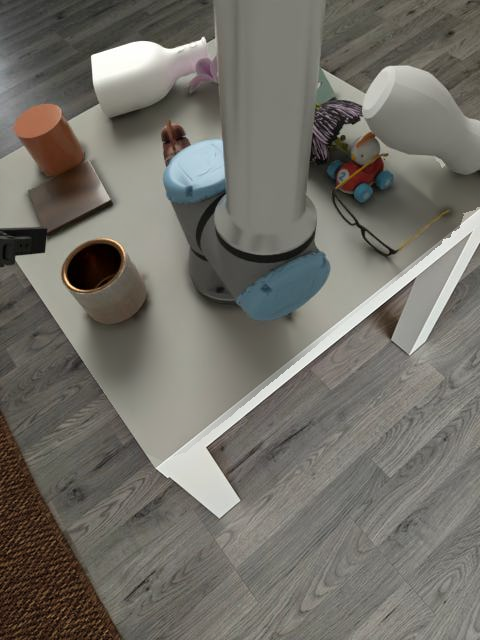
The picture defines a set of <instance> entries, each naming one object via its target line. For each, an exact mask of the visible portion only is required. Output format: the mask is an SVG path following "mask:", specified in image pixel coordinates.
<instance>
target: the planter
mask: <svg viewBox="0 0 480 640" xmlns="http://www.w3.org/2000/svg"><path fill="white" fill-rule="evenodd" d="M60 280H61V283H62V284H63V286H64V287H65V289H66V290H67V291H68V293H70V295H71V296H73V298H74V299H75V300H76V302H77V303H78V304H79V305H80V306H81V307H82V308H83V310H84V311H85V312H86V314H87V315H88V316H89V317H90V318H92V320H94V321H96V322H98V323H101V324H105V325H113V324H114V325H115V324H118V323H122V322H124V321H126V320H128V319H130V318H131V317H133V316H134V315H135V314H136V313H138V311H140V309H141V308H142V307H143V304H144V302H145V300H146V298H147V291H148V289H147V285H146V281H145V279H144V277H143V275H142V274H141V272H140V271H139V270H138V268H137V266H136V265H135V263H134V262H133V260H132V259H131V257H130V255H129V254H128V252H127V251H126V249H125V247H124V246H123V245H122V244H121V243H120V242H118V241H117V240H115V239H112V238H107V237H99V238H93V239H89V240H87V241H85V242H83V243H80V244H79V245H78V246H76V247H75V248H74V249H73V250H72V251H71V252H69V254H68V255H67V256H66V258H65V259H64V261H63V264H62V266H61V269H60Z"/></svg>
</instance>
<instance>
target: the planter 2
mask: <svg viewBox="0 0 480 640" xmlns="http://www.w3.org/2000/svg"><path fill="white" fill-rule="evenodd" d="M318 84H320V85H319V86H318V88H317V95H316V103H317V104H323V103H326V102H329V101H331V100H333V98H335V97H336V92H335V90H334V89H333V86H332V85H331V84H330V81H329V80H328V78H327V76H326V74H325V72H324V71H323V69H322V67H321V65H320V66H319V75H318Z"/></svg>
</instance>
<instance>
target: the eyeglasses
mask: <svg viewBox="0 0 480 640" xmlns="http://www.w3.org/2000/svg"><path fill="white" fill-rule="evenodd" d="M389 155H390V153H387V152H386V153H380V154H379V155H378V156H377V157H375V158H374V159H372V160H371V161H370V162H368V163H367V164H366V165H364V166H363V167H362V168H361V169H359V170H358V171H357V172H355V173H354V174H353V175H351V176H350V177H349V178H347V179H346V180H345V181H343V182H342V183H341V184H339V185H338V186H337V185H336V187H334V188H332V190H331V192H330V193H331V199H332V204H333V206H334V208H335V209H336V211H337V213H338V215H340V218H342V219H343V220H344V221H345V223H347V224H348V226H351V227H355V226H356V227H357V228H358V229H359V230H360V234H361V236H362V237H361V238H362V239H363V240H364V241H365V242H366V244H368V245H369V246H370V247H371V248H372V249H374V250H375V251H376V252H378V253H379V254H380V255H382V256H384V257H390V256H394V255H396V254H397V253H399V252H400V251H401V250H402V249H403V248H404V247H406V246H407V245H408V244H410V242H412V240H414V239H416V237H417V236H419V235H420V234H421V233H422V232H423V231H425V230H426V229H427V228H428V227H430V226H431V225H432V224H433V223H434V222H436V221H437V220H438V219H439V218H441V216H443V215H445V214H448V213H450V211H451V210H450V209H448V210H446V211H443V212H442V213H440V214H439V215H438V216H436V217H435V218H434V219H432V220H431V221H430V222H428V223H427V224H426V225H425V226H424V227H423V228H422V229H420V230H419V231H418V232H417V233H415V235H413V236H412V237H411V238H410V239H408V240H407V241H406V242H404V243H403V244H402V245H401V246H400V247H398V248H397V249H396V250H395V249H393V248H392V247H390V246H389V245H387V244H386V243H385V242H383V241H382V239H380V238H379V237H377V236H376V235H375V234H374V233H372V232H371V231H370V230H369V229H368V228H367V227H366V226H364V225H362V224H360V221H358V219H357V218H356V216H355V215H354V214H353V213H352V212H351V211H350V209H349V208H348V207H347V206H346V205H345V204H344V202H343V201H342V200H341V198H340V197H339V196H338V194H337V193H336V192H337V191H338V190H339V188H340V187H341V186H342V185H343V184H345V183H346V182H347V181H348V180H350V179H351V178H352V177H353V176H355V175H356V174H357V173H358V172H360V171H361V170H362V169H364V168H365V167H366V166H367V165H369V164H370V163H371V162H373V161H374V160H375V159H377V158H378V157H381V158H382V157H384V158H386V157H388V156H389ZM336 201H337V202H338V203H339V204H340V205H341V207H342V208H343V209H344V210H345V211H346V212H347V214H348V215H349V216H350V217H351V218H352V219H353V221H354V222H353V223H352V222H350V221H349V220H348V219H347V218H346V217H345V215H344V214H343V213H342V211H341V210H340V208H339V207H338V205H337V202H336ZM366 233H367V234H368V235H369V236H371V237H372V238H373V239H374V240H376V241H377V242H378V243H379V244H380V245H382V246H383V247H384V248H385V249H386V250H388V253H386V252H383V251H382V250H380V249H379V248H377V247H376V246H375V245H373V244H372V243H371V242H370V241H369V239H368V238H367V237H366Z"/></svg>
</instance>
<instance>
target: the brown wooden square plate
mask: <svg viewBox="0 0 480 640" xmlns="http://www.w3.org/2000/svg"><path fill="white" fill-rule="evenodd" d="M27 192H28V195H29V197H30V199H31V202H32V204H33V206H34V209H35V212H36V214H37V217H38V219H39V222H40V224H41V227H44V228H47V237H51V236H52V235H54V234H56V233H58V232H60V231H63V230H64V229H66V228H68V227H70V226H72V225H74V224H76V223H78V222H80V221H81V220H83V219H85V218H88V217H89V216H91V215H93V214H96V213H97V212H99V211H100V210H103V209H105V208H107V207H109V206H111V205H112V204H113V201H112V199H111V197H110V195H109V193H108V191H107V190H106V188H105V186H104V184H103V182H102V180H101V178H100V177H99V174H98V173H97V171H96V170H95V168H94V166H93V164H92V162H91V160H90V159H87V160H85V161H84V162H81V163H80V165H78V166H76V167H74V168H72V169H70V170H68V171H66V172H64V173H62V174H60V175H58V176H55V177H54V176H53V177H52V178H50V179H48V180H46V181H44V182H42V183H40V184H38V185H36V186H34V187H32V188H30V189H28V190H27Z"/></svg>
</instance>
